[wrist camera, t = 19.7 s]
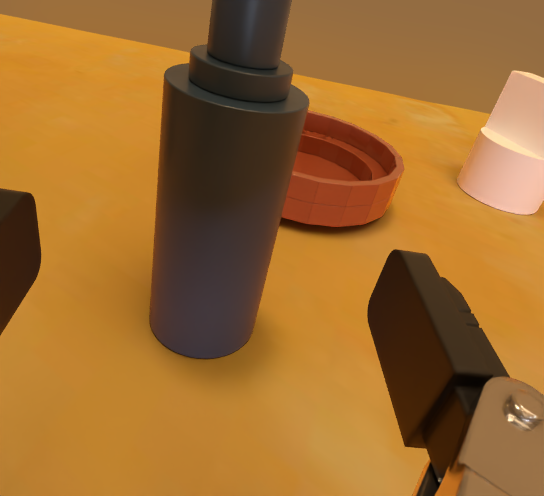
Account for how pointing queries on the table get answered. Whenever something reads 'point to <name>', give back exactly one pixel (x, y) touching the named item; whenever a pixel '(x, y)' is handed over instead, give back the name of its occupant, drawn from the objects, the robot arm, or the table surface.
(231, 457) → the table surface
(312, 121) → the bowl
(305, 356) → the table surface
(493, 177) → the cylinder with rectangular tab
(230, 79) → the flask
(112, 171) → the table surface
